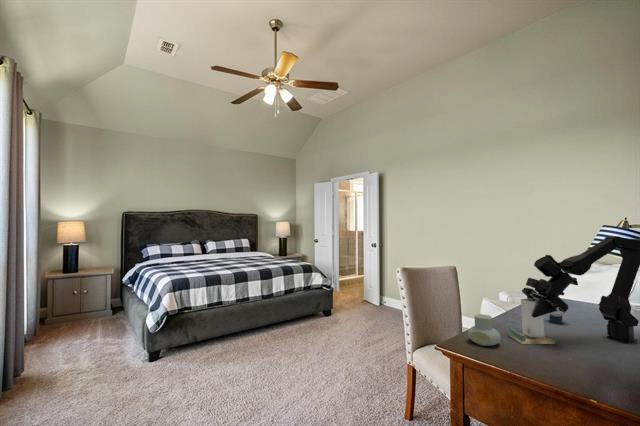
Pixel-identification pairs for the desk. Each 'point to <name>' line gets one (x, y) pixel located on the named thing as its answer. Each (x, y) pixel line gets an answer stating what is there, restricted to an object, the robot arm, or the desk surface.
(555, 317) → the watch
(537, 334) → the grey tall block
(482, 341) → the air freshener
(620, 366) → the desk surface
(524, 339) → the stand
